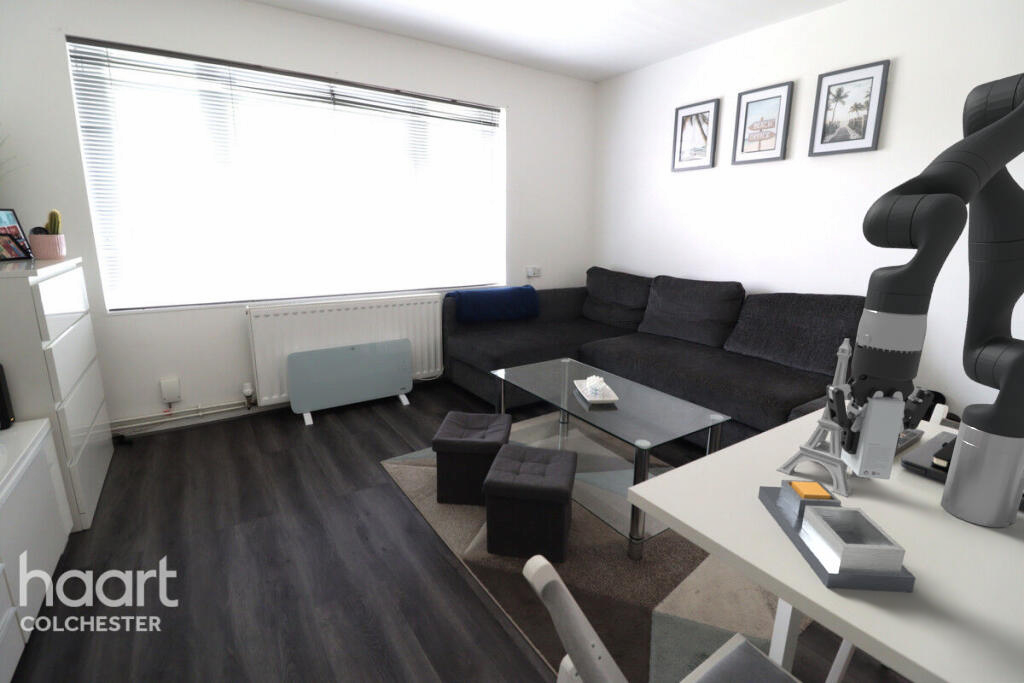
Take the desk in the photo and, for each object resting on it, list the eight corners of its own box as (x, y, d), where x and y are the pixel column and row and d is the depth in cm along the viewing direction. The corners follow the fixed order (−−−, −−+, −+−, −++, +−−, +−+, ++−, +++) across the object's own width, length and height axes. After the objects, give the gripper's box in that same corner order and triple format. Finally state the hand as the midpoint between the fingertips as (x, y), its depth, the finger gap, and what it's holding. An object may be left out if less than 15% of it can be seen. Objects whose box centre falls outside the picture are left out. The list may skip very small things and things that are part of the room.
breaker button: (814, 496, 89) (816, 482, 89) (827, 510, 85) (830, 495, 84) (789, 495, 90) (792, 481, 89) (801, 509, 86) (804, 494, 85)
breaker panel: (821, 500, 94) (827, 470, 92) (912, 592, 70) (921, 553, 69) (758, 497, 94) (762, 467, 93) (826, 587, 71) (833, 549, 70)
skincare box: (890, 480, 69) (907, 402, 67) (857, 477, 70) (872, 400, 67) (869, 460, 75) (883, 388, 72) (839, 458, 76) (852, 386, 73)
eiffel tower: (802, 453, 113) (823, 328, 106) (869, 477, 103) (898, 340, 96) (776, 470, 105) (797, 337, 98) (846, 498, 95) (875, 350, 88)
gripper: (922, 337, 71) (899, 443, 75) (821, 335, 72) (804, 440, 76) (964, 350, 64) (936, 467, 68) (851, 347, 65) (830, 463, 69)
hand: (866, 452), depth 72 cm, fingers closed on skincare box, 4 cm apart
